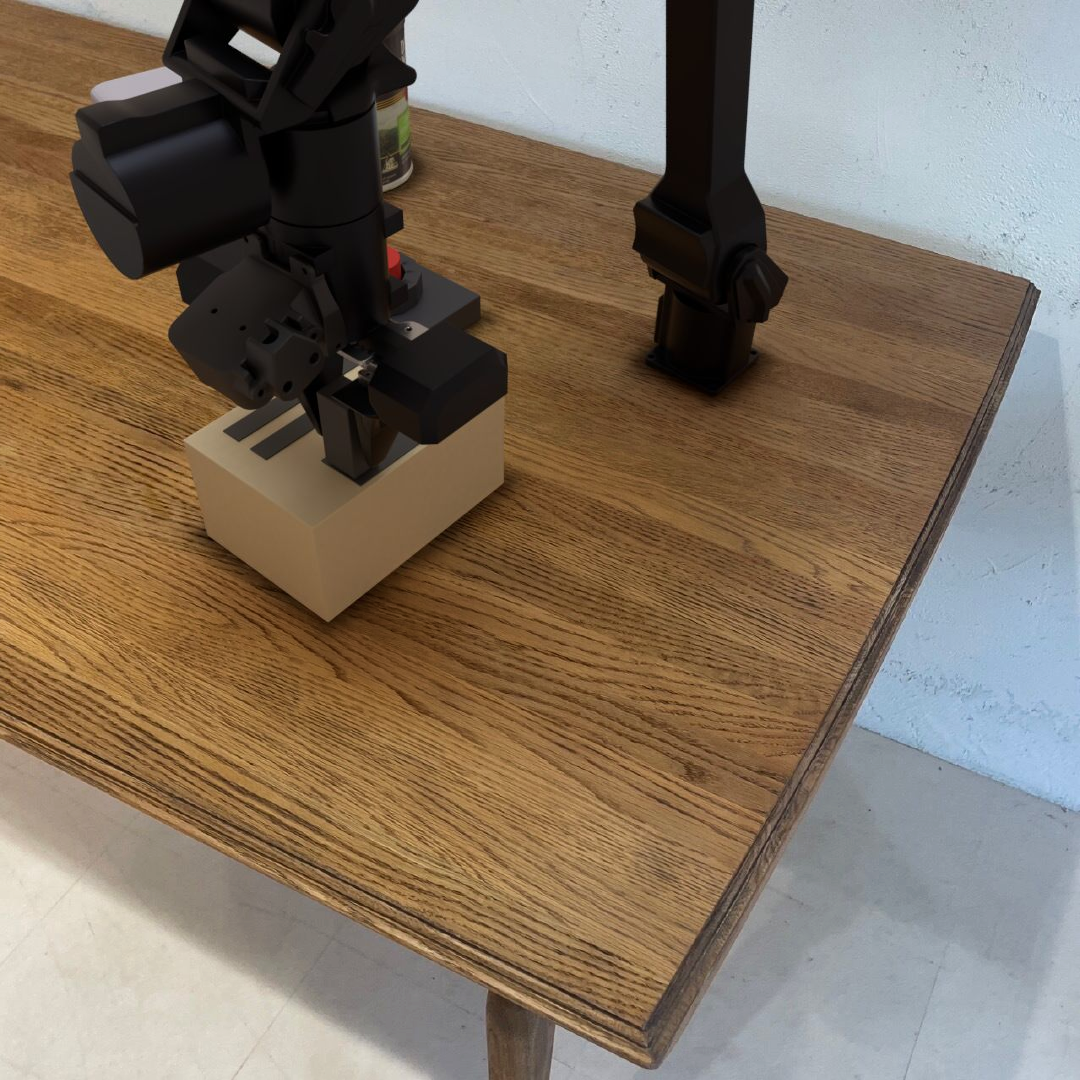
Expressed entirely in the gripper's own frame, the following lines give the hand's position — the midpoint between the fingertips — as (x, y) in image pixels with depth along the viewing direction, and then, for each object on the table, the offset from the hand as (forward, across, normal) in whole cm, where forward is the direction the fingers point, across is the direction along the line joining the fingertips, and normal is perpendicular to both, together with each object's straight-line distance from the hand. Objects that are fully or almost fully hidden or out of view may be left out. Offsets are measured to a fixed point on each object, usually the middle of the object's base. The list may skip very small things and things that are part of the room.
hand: (351, 447), depth 64 cm
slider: (+1, 0, 0) cm, 1 cm away
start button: (+6, -18, +19) cm, 26 cm away
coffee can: (+10, -36, +34) cm, 50 cm away
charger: (+10, -50, +25) cm, 56 cm away
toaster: (+9, -4, +3) cm, 10 cm away
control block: (+9, -18, +19) cm, 27 cm away
